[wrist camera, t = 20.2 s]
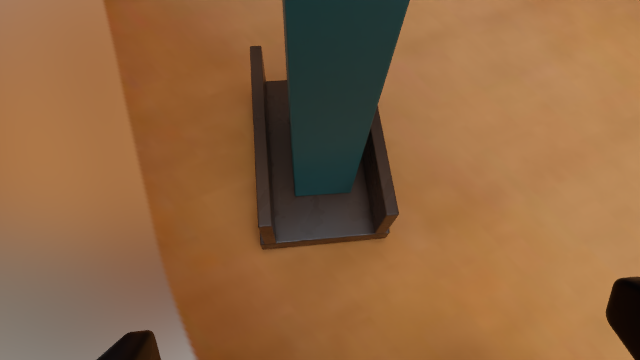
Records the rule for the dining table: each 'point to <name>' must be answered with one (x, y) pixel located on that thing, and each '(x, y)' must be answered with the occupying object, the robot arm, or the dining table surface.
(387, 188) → the rack
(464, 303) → the dining table surface
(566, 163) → the dining table surface
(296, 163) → the teal rectangular block
